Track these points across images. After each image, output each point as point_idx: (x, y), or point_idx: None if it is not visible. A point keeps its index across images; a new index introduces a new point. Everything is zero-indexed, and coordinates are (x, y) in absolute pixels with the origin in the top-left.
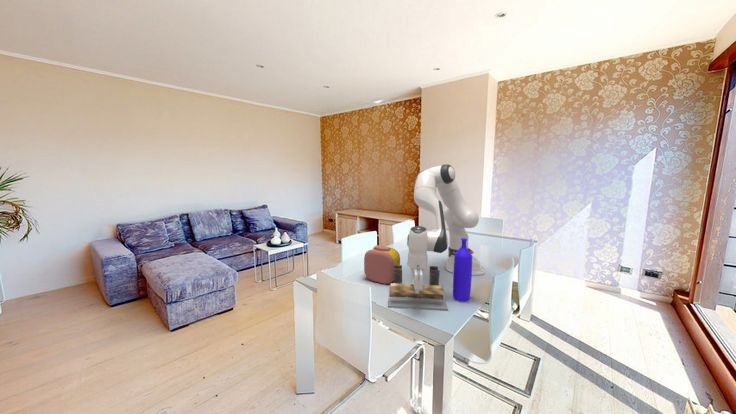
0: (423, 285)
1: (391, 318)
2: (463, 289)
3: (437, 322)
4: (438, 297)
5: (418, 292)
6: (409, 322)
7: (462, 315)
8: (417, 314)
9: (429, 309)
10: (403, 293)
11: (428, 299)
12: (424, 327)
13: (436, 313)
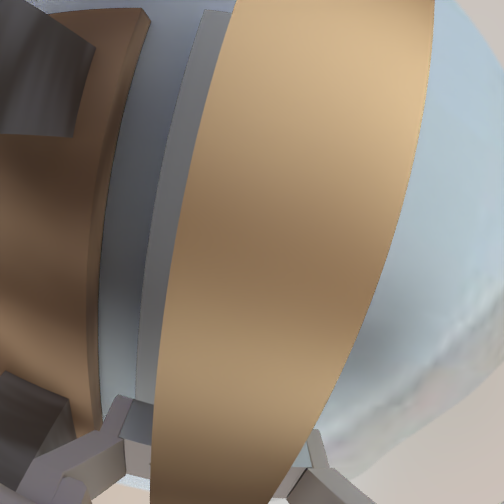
0: (198, 415)
1: (364, 467)
2: None
3: (496, 236)
4: (131, 57)
5: (318, 442)
6: (435, 399)
7: (444, 9)
8: (382, 348)
9: None
10: (73, 390)
11: (158, 181)
12: (499, 329)
13: (409, 189)
